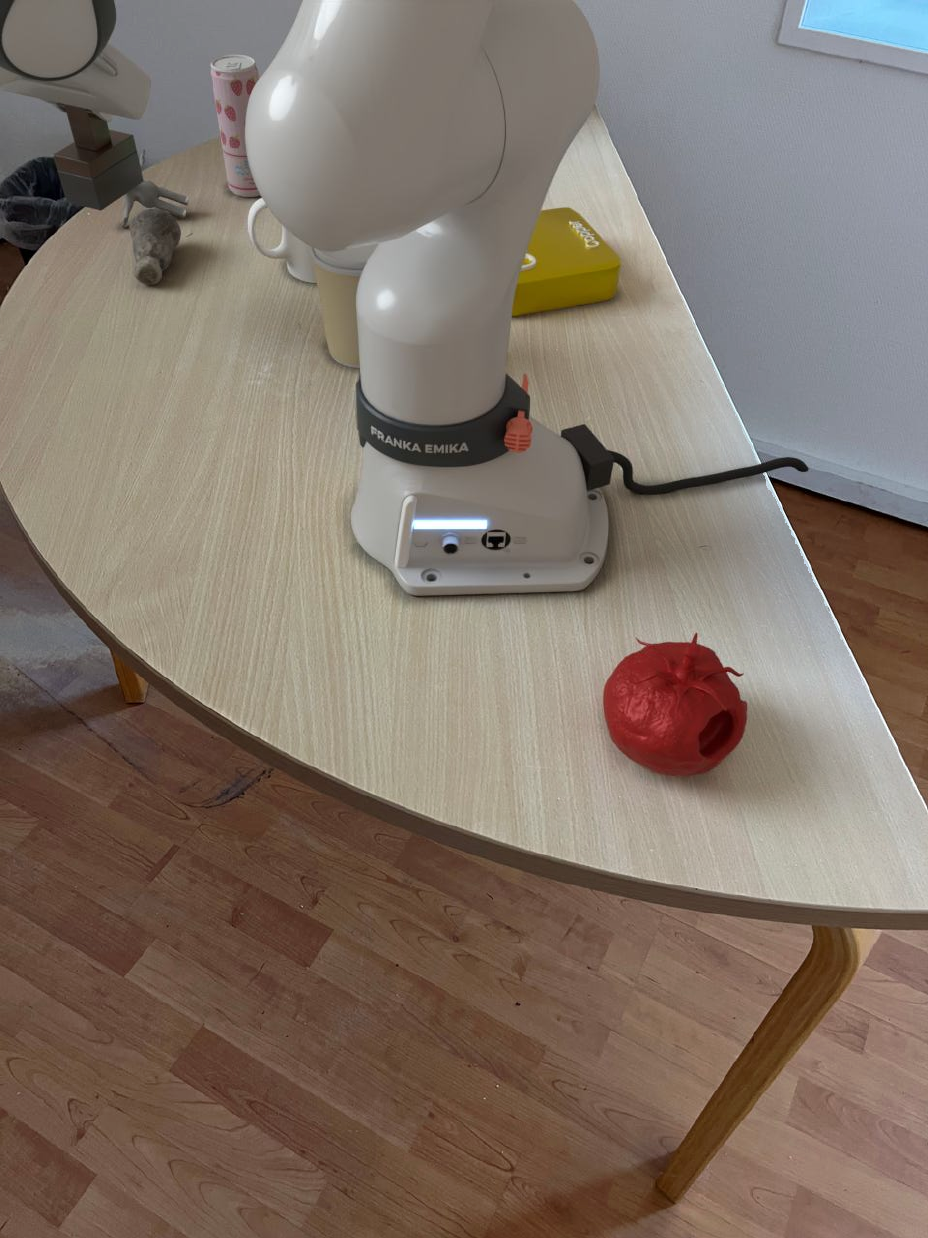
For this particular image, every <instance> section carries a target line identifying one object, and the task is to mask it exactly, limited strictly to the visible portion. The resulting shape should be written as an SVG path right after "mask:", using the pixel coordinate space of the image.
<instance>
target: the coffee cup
mask: <svg viewBox="0 0 928 1238" xmlns="http://www.w3.org/2000/svg"><path fill="white" fill-rule="evenodd" d="M378 244H379V243H378ZM378 244H373V245H369V246H364V247H358V248H352V249H347V250H341V251H335V252H328V251H322V250H318V249H316V248H313V247H311V255H312V258H313V260H314V268H315V274H316V280H317V283H316V286H317V292H318V297H319V303H320V309H321V315H322V321H323V326H324V332H325V339H326V343H327V347H328V352H329V354H330V356H331V357H332V358H333V360H335V361H336V362H337V363H338V364H340V365H342V366H345V367H348V368H353V369H359V370H360V359H359V343H358V327H357V313H356V293H357V287H358V283H359V280H360V277H361V274H362V271H363V269H364V267H365V265H366V263H367V261H368V259H369V258H370V256H371V255H372V253H373V252H374V250H375V249H376V247H377V246H378Z"/></svg>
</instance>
